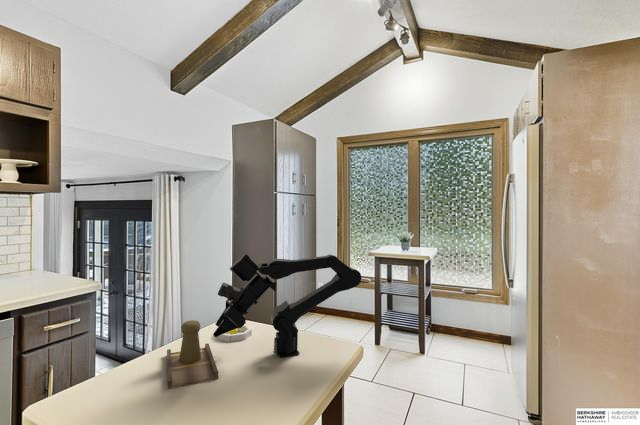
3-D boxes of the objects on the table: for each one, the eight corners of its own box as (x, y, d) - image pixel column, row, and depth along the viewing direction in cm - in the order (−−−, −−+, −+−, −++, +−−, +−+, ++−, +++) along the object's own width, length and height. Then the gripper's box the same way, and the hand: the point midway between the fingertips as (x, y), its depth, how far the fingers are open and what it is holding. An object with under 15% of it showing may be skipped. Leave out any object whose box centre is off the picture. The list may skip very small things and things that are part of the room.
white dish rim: (246, 327, 121) (246, 322, 121) (254, 338, 111) (254, 332, 111) (215, 332, 116) (215, 326, 116) (220, 343, 106) (220, 337, 106)
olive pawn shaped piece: (175, 358, 92) (176, 321, 92) (195, 353, 96) (196, 317, 97) (183, 365, 88) (184, 326, 88) (204, 359, 92) (205, 321, 92)
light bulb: (239, 335, 114) (238, 327, 112) (223, 342, 111) (221, 334, 110) (237, 329, 116) (235, 322, 115) (221, 336, 114) (219, 329, 112)
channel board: (208, 348, 101) (208, 343, 101) (218, 378, 82) (218, 371, 82) (166, 355, 96) (167, 349, 96) (167, 389, 77) (167, 381, 77)
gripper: (234, 269, 105) (199, 304, 102) (233, 279, 87) (190, 322, 84) (258, 291, 107) (224, 326, 104) (262, 306, 89) (220, 349, 86)
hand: (215, 330), depth 94 cm, fingers open, 9 cm apart
